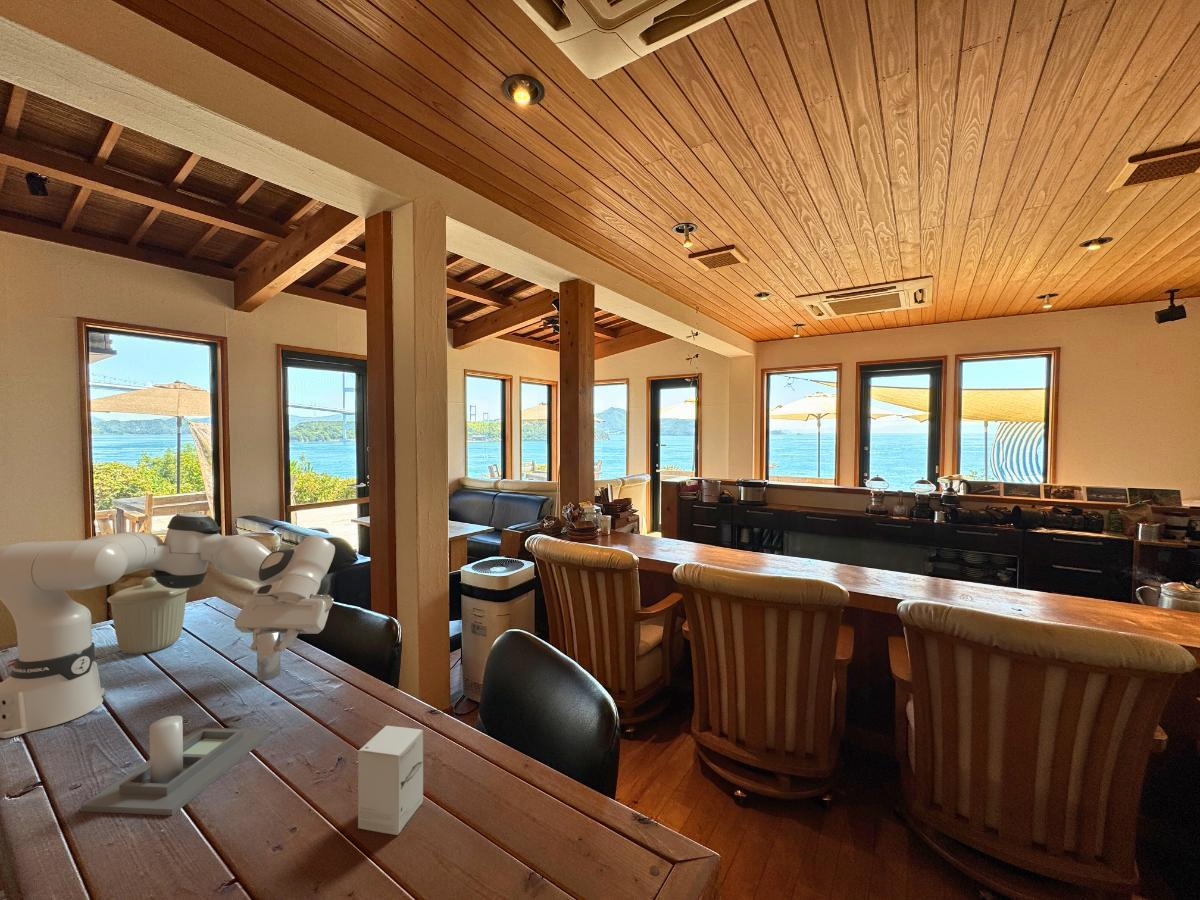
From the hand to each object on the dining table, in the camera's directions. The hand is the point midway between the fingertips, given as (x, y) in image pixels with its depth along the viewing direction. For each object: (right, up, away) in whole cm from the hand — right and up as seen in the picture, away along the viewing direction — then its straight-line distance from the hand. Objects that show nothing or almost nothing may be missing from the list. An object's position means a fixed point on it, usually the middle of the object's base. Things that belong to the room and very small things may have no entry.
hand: (266, 650), depth 110 cm
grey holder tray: (-1, -14, -20) cm, 24 cm away
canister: (-59, -14, +35) cm, 69 cm away
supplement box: (+42, -14, -31) cm, 54 cm away
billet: (0, -6, +1) cm, 6 cm away
